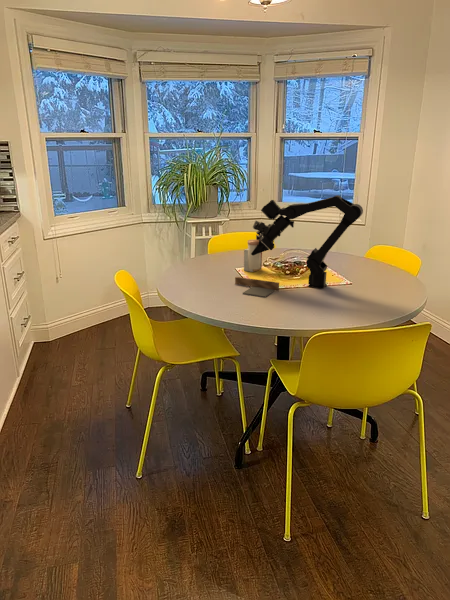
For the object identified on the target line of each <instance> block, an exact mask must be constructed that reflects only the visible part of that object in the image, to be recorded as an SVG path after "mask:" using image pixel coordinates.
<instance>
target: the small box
mask: <svg viewBox="0 0 450 600" xmlns="http://www.w3.org/2000/svg"><path fill="white" fill-rule="evenodd" d="M262 263H263V252H261V265H260V269H255V270H254V269H248V248H245V249H243V271H244V272H251V273H252V272H253V273H254V272H257V271H260V270H262V269H263V267H262V265H263V264H262Z"/></svg>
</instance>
